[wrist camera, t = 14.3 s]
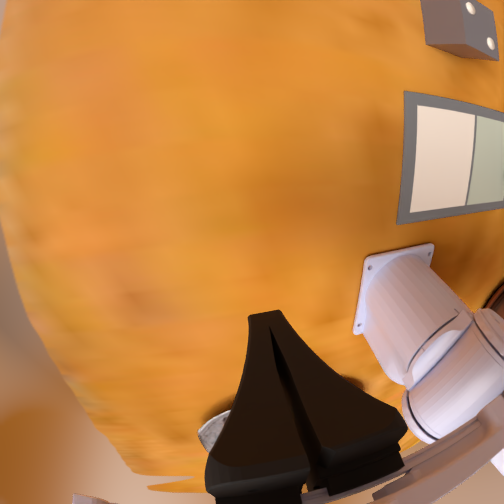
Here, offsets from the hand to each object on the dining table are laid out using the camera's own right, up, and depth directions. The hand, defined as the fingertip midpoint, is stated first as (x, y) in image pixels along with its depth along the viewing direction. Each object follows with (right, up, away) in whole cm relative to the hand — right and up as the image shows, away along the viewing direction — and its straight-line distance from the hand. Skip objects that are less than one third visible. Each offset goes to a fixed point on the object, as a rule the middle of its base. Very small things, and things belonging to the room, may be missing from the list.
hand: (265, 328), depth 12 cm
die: (+15, +21, +1) cm, 26 cm away
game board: (+24, +12, +8) cm, 28 cm away
